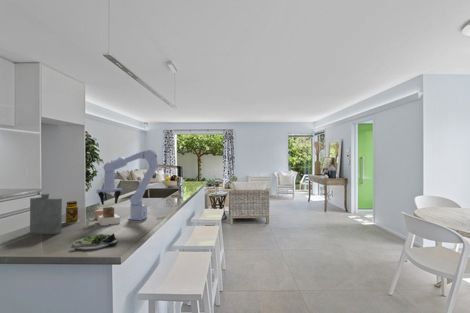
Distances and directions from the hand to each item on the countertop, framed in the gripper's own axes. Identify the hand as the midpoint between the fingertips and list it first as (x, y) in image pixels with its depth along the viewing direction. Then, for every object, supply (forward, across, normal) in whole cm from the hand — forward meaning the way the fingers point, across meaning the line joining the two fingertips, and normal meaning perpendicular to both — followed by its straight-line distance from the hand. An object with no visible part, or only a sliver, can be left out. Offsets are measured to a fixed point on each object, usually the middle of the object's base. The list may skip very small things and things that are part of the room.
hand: (109, 203), depth 175 cm
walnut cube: (+6, +2, +9) cm, 11 cm away
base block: (+10, +2, +9) cm, 14 cm away
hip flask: (+10, +34, +13) cm, 37 cm away
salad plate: (+10, +16, +46) cm, 50 cm away
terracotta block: (+10, +4, -6) cm, 12 cm away
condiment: (+10, +20, -5) cm, 23 cm away
